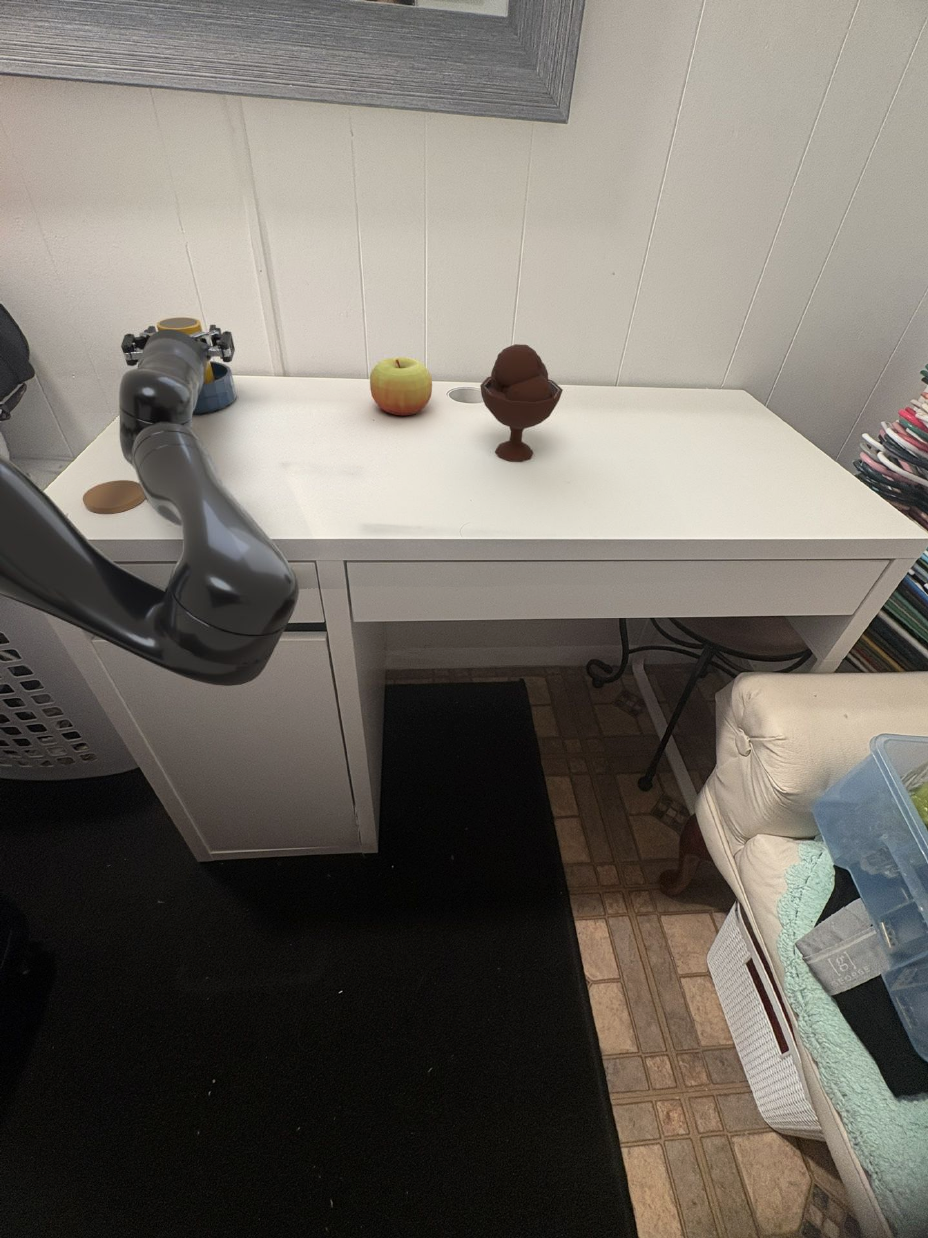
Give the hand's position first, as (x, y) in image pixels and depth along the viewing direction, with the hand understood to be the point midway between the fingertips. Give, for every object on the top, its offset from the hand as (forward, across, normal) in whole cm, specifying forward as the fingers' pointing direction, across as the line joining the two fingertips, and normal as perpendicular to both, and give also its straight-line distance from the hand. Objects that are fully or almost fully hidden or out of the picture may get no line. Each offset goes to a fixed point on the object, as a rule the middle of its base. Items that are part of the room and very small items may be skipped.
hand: (184, 332), depth 86 cm
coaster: (-31, +8, +10) cm, 34 cm away
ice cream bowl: (-28, -45, +10) cm, 53 cm away
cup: (-2, 0, +9) cm, 9 cm away
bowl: (-2, 0, +10) cm, 10 cm away
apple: (-10, -31, +10) cm, 34 cm away
